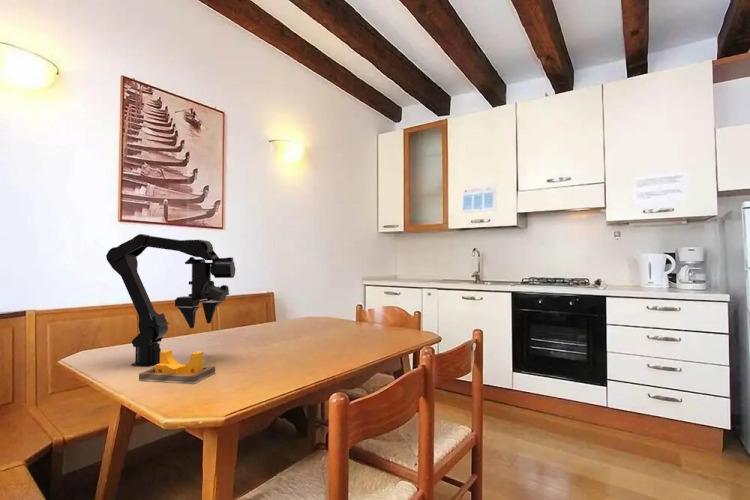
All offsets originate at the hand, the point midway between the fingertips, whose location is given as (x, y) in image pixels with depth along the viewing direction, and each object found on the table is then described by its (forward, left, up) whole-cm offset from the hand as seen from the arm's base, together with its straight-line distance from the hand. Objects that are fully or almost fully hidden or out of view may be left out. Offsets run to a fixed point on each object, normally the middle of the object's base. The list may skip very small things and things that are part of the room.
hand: (200, 325), depth 128 cm
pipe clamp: (+3, -15, -12) cm, 19 cm away
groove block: (+3, -15, -12) cm, 19 cm away
